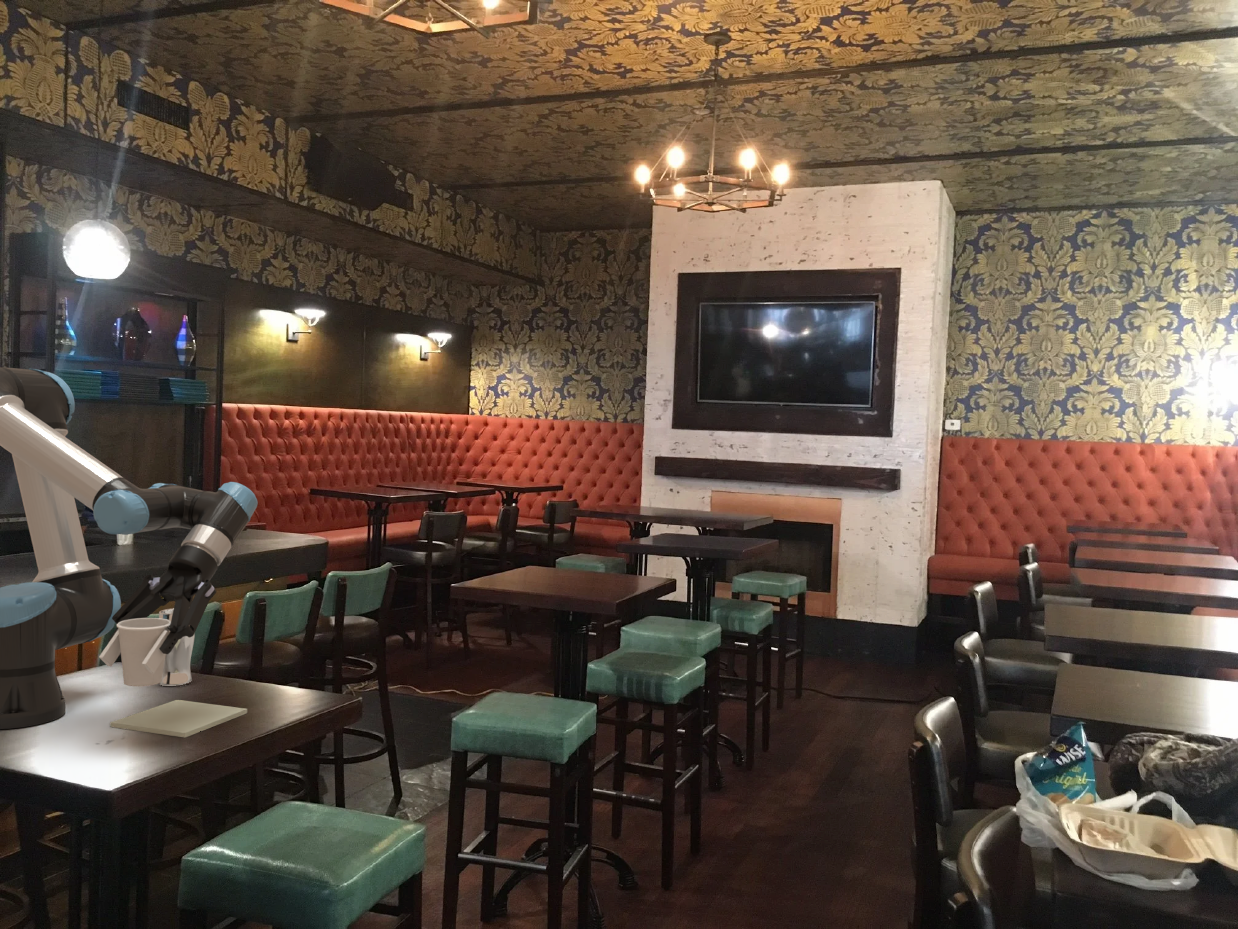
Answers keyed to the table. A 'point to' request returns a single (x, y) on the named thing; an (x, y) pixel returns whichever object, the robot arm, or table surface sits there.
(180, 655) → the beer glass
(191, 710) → the sage mat
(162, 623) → the dixie cup
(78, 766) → the table surface
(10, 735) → the table surface
